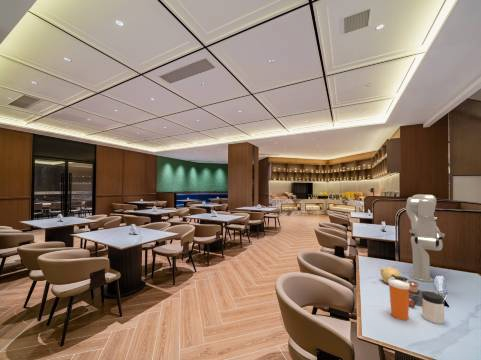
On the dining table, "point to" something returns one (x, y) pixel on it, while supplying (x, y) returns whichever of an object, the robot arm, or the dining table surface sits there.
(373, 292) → the dining table surface
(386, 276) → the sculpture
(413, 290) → the pipe stub
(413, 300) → the valve body
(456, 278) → the dining table surface
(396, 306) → the shaker bottle
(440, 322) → the jar
